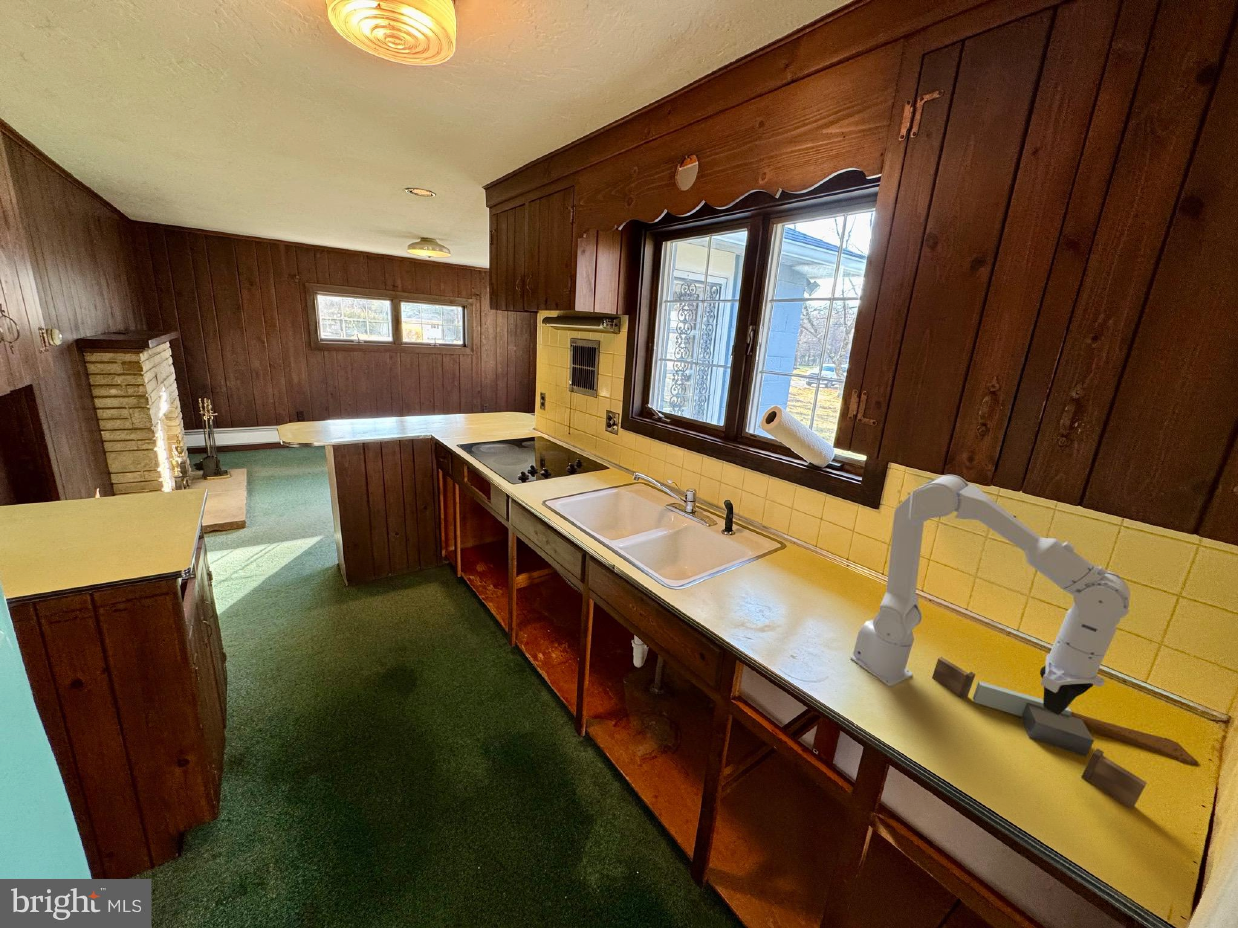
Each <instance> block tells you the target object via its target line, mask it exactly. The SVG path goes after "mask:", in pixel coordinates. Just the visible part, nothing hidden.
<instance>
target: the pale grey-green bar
mask: <svg viewBox="0 0 1238 928" xmlns="http://www.w3.org/2000/svg"><path fill="white" fill-rule="evenodd" d="M972 700H973V702H974V703H976V704H979V705H983V706H986V707H989V708H992V709H996V710H999V711H1001V712H1002V711H1003V712H1006V713H1009V714H1012V715H1015V716H1019V717H1021V716H1022V714H1023V711H1024V709H1025V706H1026V704H1027V703H1030V704H1033V705H1036V706H1040V707H1043V708H1045V707H1044V706H1043V699H1042V698H1039V697H1035V696H1031V695H1030V694H1026V693H1025V694H1024V693H1022V692H1019V691H1015V690H1011V689H1008V688H1005V687H1000V686H999V685H998V686H997V685H994V684H991V683H988V682H985V681H984V682H983V681H980V680H978V681H977V683H976V687H975V689H974V693H973V696H972ZM1072 712H1073V711H1072V709H1071V708H1070V706H1068V707H1067V708H1066V709H1065V710H1064V711H1063V712H1062V714H1065V715H1068V716H1070V715H1071V713H1072Z"/></svg>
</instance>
